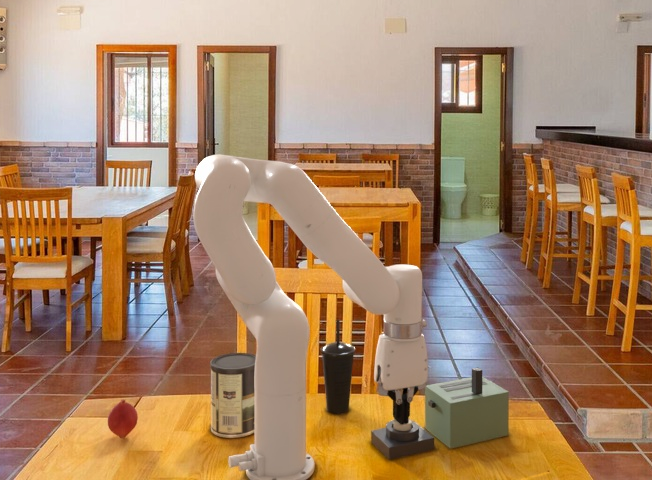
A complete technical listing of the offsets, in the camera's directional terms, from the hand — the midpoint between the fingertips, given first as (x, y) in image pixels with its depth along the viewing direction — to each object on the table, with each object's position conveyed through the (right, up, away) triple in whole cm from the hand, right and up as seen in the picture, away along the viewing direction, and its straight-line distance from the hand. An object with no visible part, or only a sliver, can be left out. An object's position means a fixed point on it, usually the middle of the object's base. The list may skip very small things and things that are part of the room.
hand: (401, 420), depth 140 cm
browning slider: (+16, +4, +4) cm, 17 cm away
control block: (0, -5, 0) cm, 5 cm away
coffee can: (-34, -5, +8) cm, 36 cm away
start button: (0, -2, 0) cm, 2 cm away
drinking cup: (-13, -5, +17) cm, 22 cm away
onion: (-56, -5, +4) cm, 57 cm away
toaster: (+14, -5, +6) cm, 16 cm away
